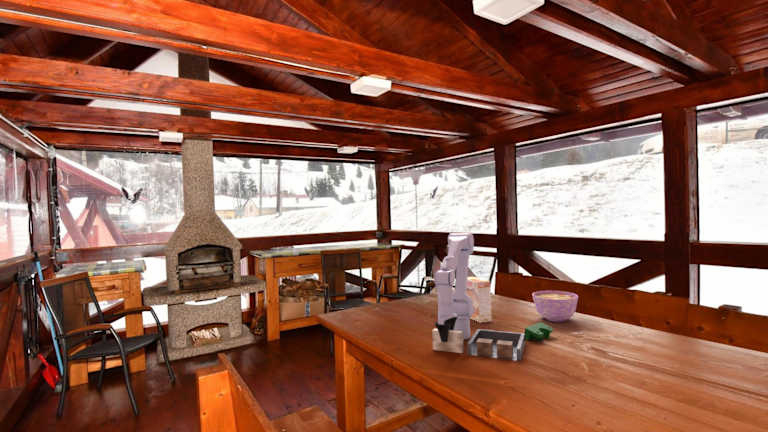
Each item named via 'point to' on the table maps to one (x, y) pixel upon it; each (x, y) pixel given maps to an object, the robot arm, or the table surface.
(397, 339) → the table surface
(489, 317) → the coffeecake box
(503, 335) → the tray
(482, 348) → the offcut left
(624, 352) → the table surface
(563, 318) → the bowl of food
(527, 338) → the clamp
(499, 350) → the offcut right
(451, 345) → the birch block
